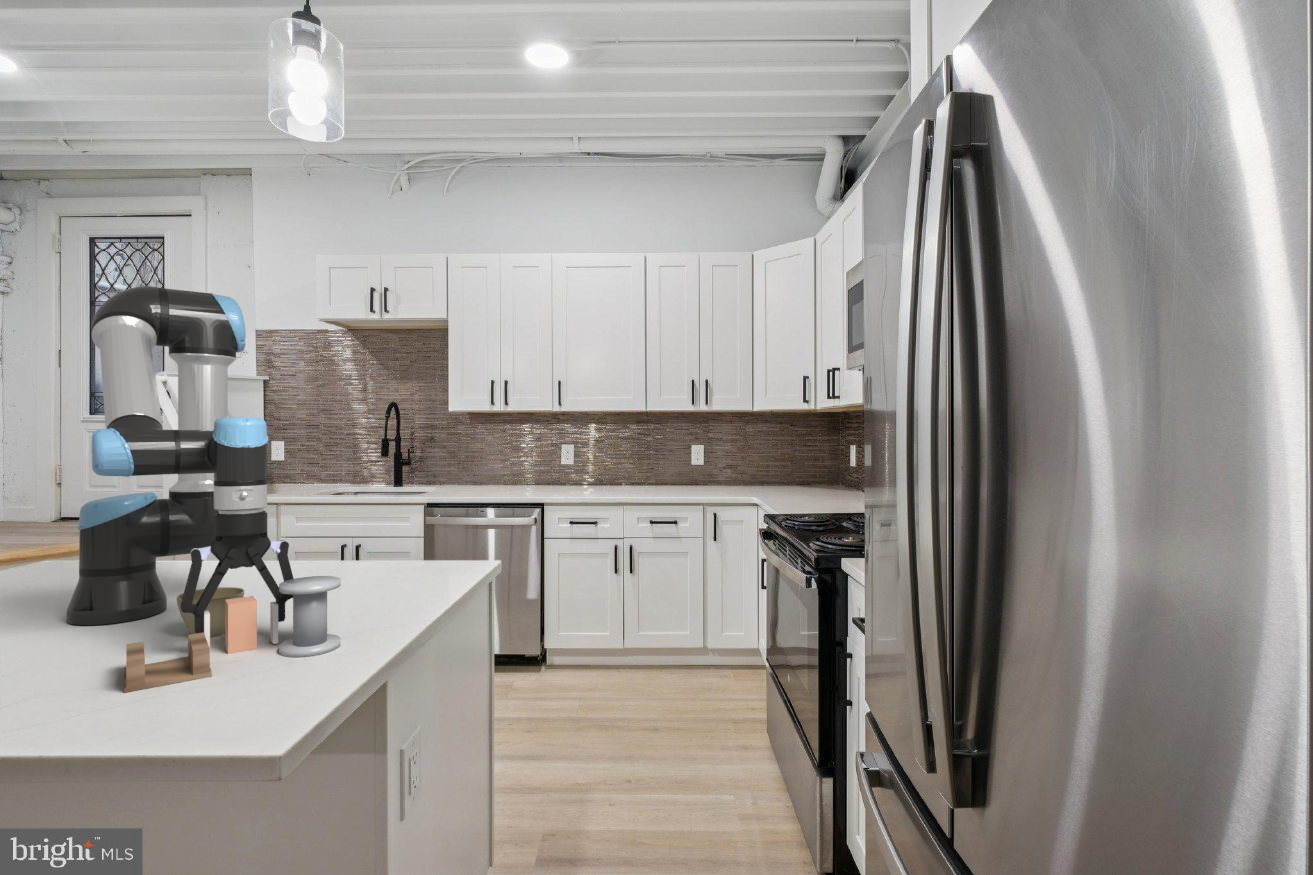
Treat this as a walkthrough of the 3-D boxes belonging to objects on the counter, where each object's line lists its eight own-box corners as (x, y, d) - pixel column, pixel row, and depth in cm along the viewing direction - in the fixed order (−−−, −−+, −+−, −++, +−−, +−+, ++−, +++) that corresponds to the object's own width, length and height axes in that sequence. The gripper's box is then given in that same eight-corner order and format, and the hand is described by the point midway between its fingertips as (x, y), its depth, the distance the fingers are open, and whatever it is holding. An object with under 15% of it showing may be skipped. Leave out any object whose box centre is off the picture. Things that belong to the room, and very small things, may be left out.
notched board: (124, 672, 98) (124, 644, 98) (205, 657, 104) (205, 631, 104) (124, 692, 90) (123, 662, 90) (211, 676, 96) (211, 648, 96)
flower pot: (210, 643, 111) (210, 601, 111) (161, 639, 113) (161, 598, 113) (257, 626, 121) (257, 587, 121) (211, 623, 123) (211, 585, 123)
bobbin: (274, 646, 110) (274, 580, 110) (333, 636, 115) (333, 573, 115) (284, 661, 103) (284, 590, 103) (346, 649, 108) (346, 582, 108)
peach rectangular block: (225, 647, 109) (225, 599, 109) (253, 643, 112) (253, 596, 112) (228, 654, 106) (228, 604, 106) (256, 649, 109) (256, 600, 109)
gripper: (160, 518, 99) (160, 667, 99) (318, 508, 113) (318, 639, 113) (158, 513, 105) (158, 655, 105) (308, 504, 118) (308, 629, 118)
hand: (241, 647), depth 109 cm, fingers open, 9 cm apart
